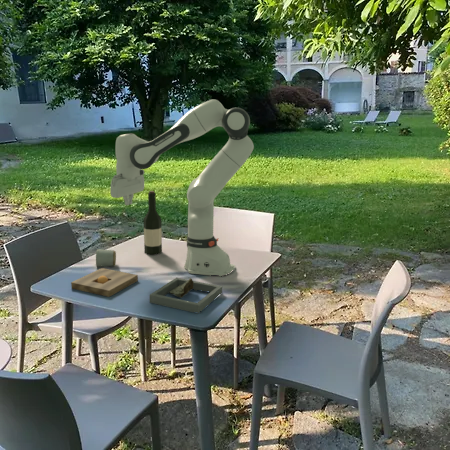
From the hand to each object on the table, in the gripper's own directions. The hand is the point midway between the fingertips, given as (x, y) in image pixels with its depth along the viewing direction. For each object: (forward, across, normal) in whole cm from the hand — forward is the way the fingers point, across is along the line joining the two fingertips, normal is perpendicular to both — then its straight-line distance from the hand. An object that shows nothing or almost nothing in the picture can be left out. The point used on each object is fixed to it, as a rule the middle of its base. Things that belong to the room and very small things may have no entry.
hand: (128, 204), depth 192 cm
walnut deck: (+27, -24, -4) cm, 37 cm away
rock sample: (+28, -21, -36) cm, 50 cm away
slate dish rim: (+27, -22, -39) cm, 53 cm away
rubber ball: (+25, -25, -4) cm, 36 cm away
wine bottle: (+28, +19, 0) cm, 34 cm away
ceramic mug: (+28, -5, +10) cm, 30 cm away
